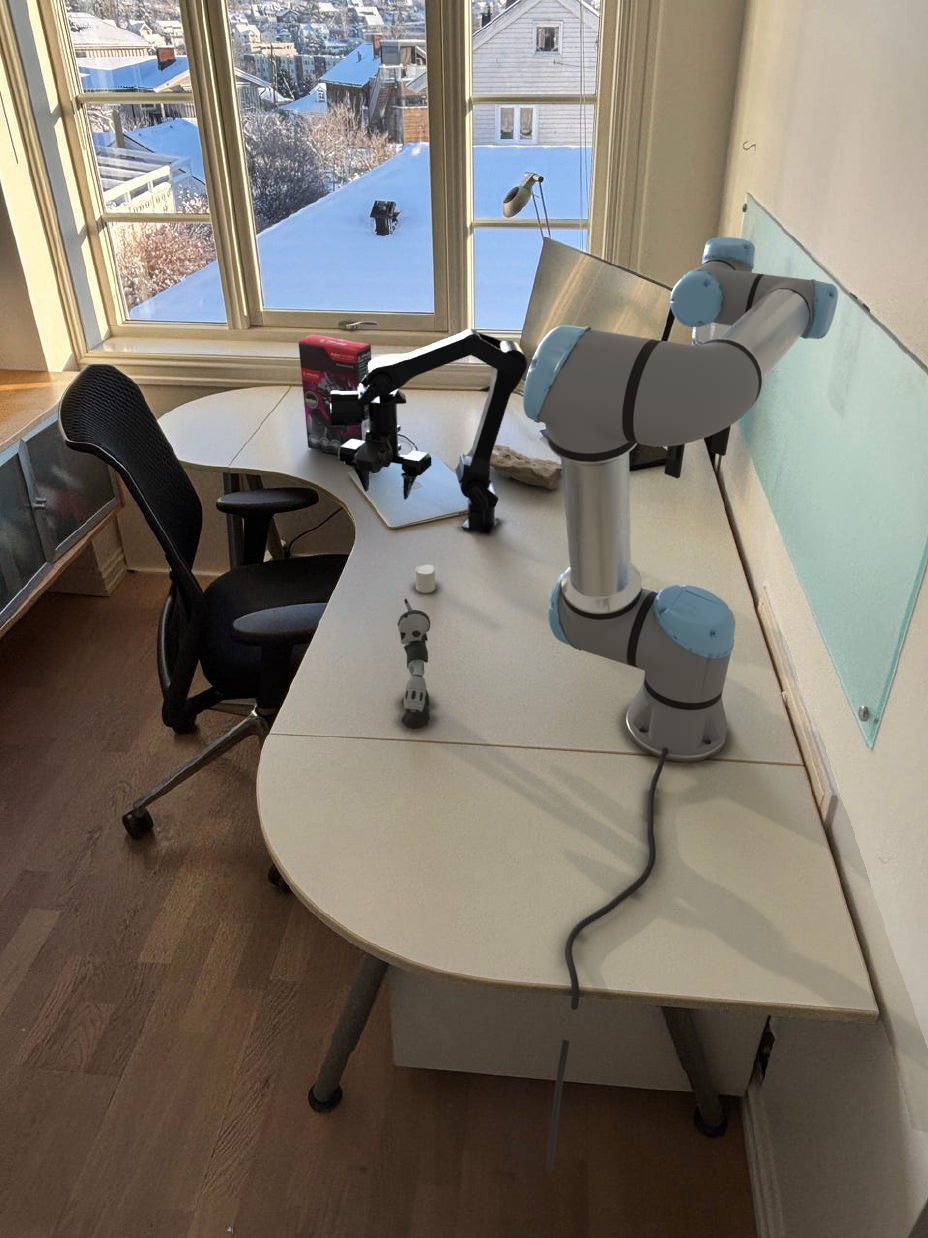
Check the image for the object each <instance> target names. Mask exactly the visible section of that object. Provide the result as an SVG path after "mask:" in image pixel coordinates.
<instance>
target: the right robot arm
mask: <svg viewBox="0 0 928 1238" xmlns="http://www.w3.org/2000/svg"><path fill="white" fill-rule="evenodd" d="M755 249H756V248H755V245H754V243H753V242H752V241H751V240H748V239H745V238H740V237H733V236H730V237H729V236H724V237H723V236H721V237H713V238H711V239H708V241H707V242H706V243H705V247H704V251H703V255H702V257H701V265H700V266H698V267H696V268H695V269H692V270H690V271H688V272H686V273H685V274H684V275H683V276H682V277H681V278H680V279H679V280H678V281H677V282H676V284H675V285H674V286H673V289H672V291H671V294H670V302H669V303H670V309H671V312H672V314H673V316H674V318H675V319H676V320H677V321H678V322H679V323H681V325H683V326H686V327H688V328H692V334H691V337H692V339H693V340H692V341H691V342H690V344H685V343H679V342H672V341H666V340H658V339H655V338H647V337H641V336H635V335H628V334H623V333H618V332H610V331H605V330H599V329H594V328H593V329H592V327H591V326H588V325H586V326H575V325H565V324H564V325H559V326H556V327H554V328H553V329H551V330H549V332H548V333H547V334H546V335H545V336H544V337H543V339H542V340H541V341H540V343H539V345H538V347H537V348H536V351H535V352H534V355H533V357H532V359H531V362H530V366H529V368H528V371H527V374H526V378H525V382H524V388H523V393H522V395H523V396H522V405H523V411H524V414H525V416H526V417H527V418H529V419H530V420H532V421H533V422H535V423H537V424H539V423H543V424H544V425H545V433H546V441H547V444H548V447H549V448H550V450H551V451H552V452H553V453H554V454H555V455H556V456H558V457H559V458H560V464H561V466H562V471H561V476H562V478H561V479H562V487H563V488H562V489H563V498H564V499H563V501H564V510H565V511H564V512H565V524H566V532H567V546H568V556H569V557H568V558H569V566H568V568H567V569H566V570H565V571H564V572H563V573H562V574H560V576H559V577H558V578H557V580H556V582H555V584H554V586H553V589H552V591H551V594H550V599H549V602H550V606H549V607H548V623H549V627H550V630H551V633H552V634H553V636H554V637H555V638H556V640H558V641H559V642H560V643H563V644H565V645H568V646H570V647H571V648H573V649H575V650H578V651H584V652H587V653H589V654H593V655H596V656H599V657H603V658H604V659H605V658H606V659H608V660H611V661H615V662H619V663H621V664H623V665H627V666H630V667H633V668H636V669H639V670H642V671H644V677H643V682H642V684H641V685H640V688H639V689H638V691H637V692H636V694H635V695H634V697H633V699H632V701H631V702H630V704H629V706H628V708H627V713H626V719H625V728H626V732H627V734H628V736H629V738H630V739H631V741H632V742H634V744H636V745H637V746H638V747H639V748H640V749H641V750H643V751H645V752H646V753H648V754H650V755H651V756H654V757H656V758H659V760H658V763H657V766H656V768H655V771H654V774H653V776H652V780H651V782H650V786H649V791H648V797H647V822H646V823H647V824H646V825H647V826H646V827H647V828H646V829H647V831H646V832H647V840H648V849H649V850H648V851H649V855H648V861H647V864H646V868H645V869H644V871H643V873H641V875H640V876H639V877H638V878H637V879H636V880H635V882H633V883H632V884H630V886H628V887H627V888H626V889H625V890H623V891H622V892H621V893H619V894H618V895H617V896H616V897H614V899H612V900H611V901H610V902H608V903H607V904H606V905H605V906H603V907H601V908H599V909H598V910H596V911H595V912H593V913H591V914H589V915H588V916H586V917H585V918H583V919H582V920H581V921H579V922H578V923H577V924H576V925H575V926H574V927H573V928H572V930H571V931H570V933H569V934H568V937H567V938H566V942H565V946H564V958H565V963H566V966H567V970H568V973H569V978H570V984H571V997H570V999H571V1000H570V1009H572V1010H573V1011H576V1010H577V1009H578V1008H579V1003H580V1002H579V1001H580V986H579V985H580V984H579V983H580V982H579V978H578V973H577V969H576V965H575V962H574V958H573V945H574V942H575V940H576V938H577V936H578V935H579V934H580V932H581V931H582V930H583V929H584V928H586V927H587V926H588V925H590V924H592V923H593V922H595V921H597V920H598V919H601V918H602V917H603V916H605V915H607V914H609V913H610V912H611V911H612V910H614V909H615V908H616V907H617V906H619V905H620V904H621V903H622V902H623V901H624V900H626V899H627V898H628V897H630V896H631V895H632V894H633V893H635V892H636V891H637V890H638V889H639V888H640V887H642V885H643V884H644V883H645V882H646V881H647V880H648V878H649V877H650V875H651V874H652V871H653V868H654V866H655V863H656V859H657V850H656V841H655V831H654V830H655V829H654V828H655V827H654V825H655V823H654V821H655V819H654V818H655V817H654V816H655V815H654V814H655V811H654V810H655V796H656V795H655V794H656V789H657V785H658V781H659V779H660V776H661V773H662V770H663V769H664V765H665V762H666V761H670V762H675V763H694V762H700V761H703V760H706V759H709V758H711V757H714V755H716V754H718V752H720V751H721V750H722V748H723V747H724V744H725V743H726V740H727V739H726V738H727V733H728V721H727V716H726V712H725V708H724V707H725V706H724V701H723V692H724V686H725V682H726V678H727V672H728V668H729V664H730V659H731V654H732V652H733V649H734V646H735V638H734V637H735V631H736V617H735V615H734V613H733V611H732V609H731V608H730V607H729V605H728V603H726V601H725V600H723V599H722V598H721V597H719V596H718V595H716V594H715V593H713V592H711V591H709V590H707V589H704V588H701V587H698V586H694V585H690V584H689V585H688V584H683V585H682V586H680V585H679V584H674V585H673V584H672V585H669V586H666V587H664V588H662V589H661V590H660V591H659V592H657V591H653V590H650V589H647V588H644V587H643V584H642V583H643V582H642V581H643V580H642V576H641V572H640V571H639V569H638V568H637V567H636V566H635V564H633V563H632V561H631V560H632V557H631V556H632V555H631V552H632V551H631V550H632V549H631V547H632V546H631V496H630V494H631V490H630V452H631V451H632V450H634V448H635V447H636V446H637V445H644V446H647V447H648V446H649V447H654V448H655V447H660V448H661V447H663V448H664V447H666V448H667V449H666V455H665V456H666V458H665V465H664V472H663V473H664V474H665V475H667V476H669V477H672V478H674V479H680V478H681V474H682V466H683V460H684V454H685V448H686V444H689V443H694V442H697V441H699V440H702V439H706V438H709V437H711V436H712V439H711V444H710V452H711V453H712V454H716V455H719V456H722V457H724V456H725V457H726V454H727V449H728V444H729V437H730V433H731V426H732V425H734V424H735V423H736V422H738V421H739V420H740V419H742V418H743V417H744V416H745V415H746V414H747V413H748V412H749V411H750V409H751V408H752V407H753V406H754V405H755V403H756V402H757V401H758V398H759V397H760V394H761V392H762V387H763V381H764V380H765V378H767V377H768V375H769V374H770V373H771V371H773V370H774V368H775V367H776V366H777V364H778V363H779V362H780V361H781V360H782V359H783V357H784V356H785V355H786V354H787V353H788V352H789V350H790V349H791V348H792V347H793V346H794V344H795V343H796V342H797V341H798V340H799V338H802V339H805V340H807V339H811V340H821V339H823V338H825V337H826V336H827V334H828V333H829V331H830V329H831V326H832V324H833V320H834V318H835V313H836V309H837V305H838V300H839V299H838V297H839V292H838V291H839V290H838V287H836V285H834V284H833V283H829V282H824V281H819V280H816V279H814V278H812V279H806V278H797V277H789V276H782V275H781V276H780V275H774V274H773V275H772V274H766V273H758V272H753V269H754V267H755V265H754V261H755V251H756V250H755ZM570 1042H571V1041H570V1040H567V1039H562V1041H561V1047H560V1048H561V1049H560V1052H559V1059H558V1065H557V1073H556V1079H555V1086H554V1093H553V1101H552V1102H553V1103H552V1111H551V1118H550V1119H551V1120H550V1129H549V1138H548V1139H549V1141H548V1148H547V1157H546V1165H545V1166H546V1167H545V1172H546V1174H552V1172H553V1168H554V1161H555V1152H556V1151H555V1150H556V1143H557V1133H558V1125H559V1115H560V1109H561V1108H560V1107H561V1099H562V1092H563V1086H564V1085H563V1084H564V1078H565V1073H566V1066H567V1061H568V1055H569V1048H570Z"/></svg>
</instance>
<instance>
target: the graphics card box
mask: <svg viewBox="0 0 928 1238" xmlns="http://www.w3.org/2000/svg"><path fill="white" fill-rule="evenodd" d="M297 344H298V353H299V362H300V363H299V364H300V374H301V383H302V384H301V385H302V395H303V406H304V416H305V428H306V438H307V439H306V440H307V447H308V449H312V450H317V451H321V452H325V453H330V454H334V455H338V451H339V448H340V447H341V446H342V445H344V444H345V443H346V442H348V441H349V440H350V439H355V440H361V441H365V439H366V437H365V435H366V431H368V430H369V419H368V405H364V408H365V420H362V424H360V426H337V427H332V425H331V411H330V404H331V396H330V392H331V391H340V392H346V391H358V389H357V387H358V385H359V384H360V382H361V381H362V380H363V378H364V377H365V375H366V368H367V365H368V364H369V362H370V361H371V360H372V345H371V343H363V342H359V341H352V340H347V339H341V338H336V337H330V336H325V335H320V334H313V333H312V334H309V335H307V336H305V337H304V338H302V339H301V340H300V341H298V343H297Z"/></svg>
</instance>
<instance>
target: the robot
mask: <svg viewBox="0 0 928 1238" xmlns="http://www.w3.org/2000/svg"><path fill="white" fill-rule="evenodd" d="M403 602H404V604H405V607H406V610H407V611H406V612H404V613H403V614H402V615H400V616H399V617H398V621H397V623H396V624H397V625H396V626H397V627H398V629H397V630H398V631H399V635H400V644H401V645H403V649H404V652H405V654H406V669H408V671H409V674H410V677H409V678H408V679H407V680H408V681H407V682H406V685H405V689H404V696H403V697H402V700H401V705H402V706H403V708H404V713H403V716H402V718H401V723H402V725H404V726H405V727H406V728H410V729H419V728H421V727H424V726H426V725H428V724H429V722H430V719H431V717H430V716H431V715H430V709H429V706H430V695H429V692H428V689H427V683H426V678H425V677H424V674H425V664H427V663H429V650H428V648H427V641H429V640H428V639H429V638H428V634H427V633H428V632H430V629H431V620H430V617H429V615H428V614H427V613H426V612H424V611H422V610H419V609H413V608H412V606H411V604H410V602H409V600H408V599H407V598H404V600H403Z"/></svg>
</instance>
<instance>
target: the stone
mask: <svg viewBox="0 0 928 1238" xmlns="http://www.w3.org/2000/svg"><path fill="white" fill-rule="evenodd" d="M490 468H492V469H493V470H494V471H495V472H497V473H499V474H500V475H501V477H504V478H506V479H509V478H511V477H512V478H513V479H515V480H518V481H520V482H524V483H526V484H528V485H532V486H541V487H543V488H545V489H547V490H554V489H555V488H556V486H557V484H558V479H559V477H560V476H561V475H562V466H561V463H559V462H557V461H553V460H550V459H540V458H537V457H536V458H535V457H529V456H526V455H523V453H519V452H517V451H516V450H515V449H511V448H510V447H509V446H505V445H500V444H495V445H494V448H493V452H492V455H491V458H490Z"/></svg>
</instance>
